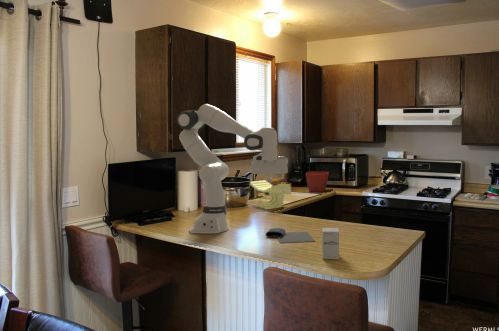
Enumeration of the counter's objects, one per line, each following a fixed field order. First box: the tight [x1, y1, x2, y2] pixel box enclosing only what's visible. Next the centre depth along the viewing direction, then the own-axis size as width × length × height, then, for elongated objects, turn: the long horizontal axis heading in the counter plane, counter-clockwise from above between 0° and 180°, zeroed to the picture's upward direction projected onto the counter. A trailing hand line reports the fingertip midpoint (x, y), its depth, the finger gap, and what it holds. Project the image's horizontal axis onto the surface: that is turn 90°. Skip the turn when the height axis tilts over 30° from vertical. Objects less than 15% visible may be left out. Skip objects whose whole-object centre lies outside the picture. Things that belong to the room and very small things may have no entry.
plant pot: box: [305, 171, 330, 193], centre depth 388 cm, size 19×19×17 cm
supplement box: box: [321, 227, 340, 260], centre depth 194 cm, size 7×7×13 cm
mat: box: [276, 231, 316, 244], centre depth 230 cm, size 18×20×1 cm
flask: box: [265, 227, 286, 238], centre depth 236 cm, size 9×3×11 cm
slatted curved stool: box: [249, 180, 292, 210], centre depth 320 cm, size 30×16×18 cm, turn 31°
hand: (269, 181), depth 240 cm, fingers closed
